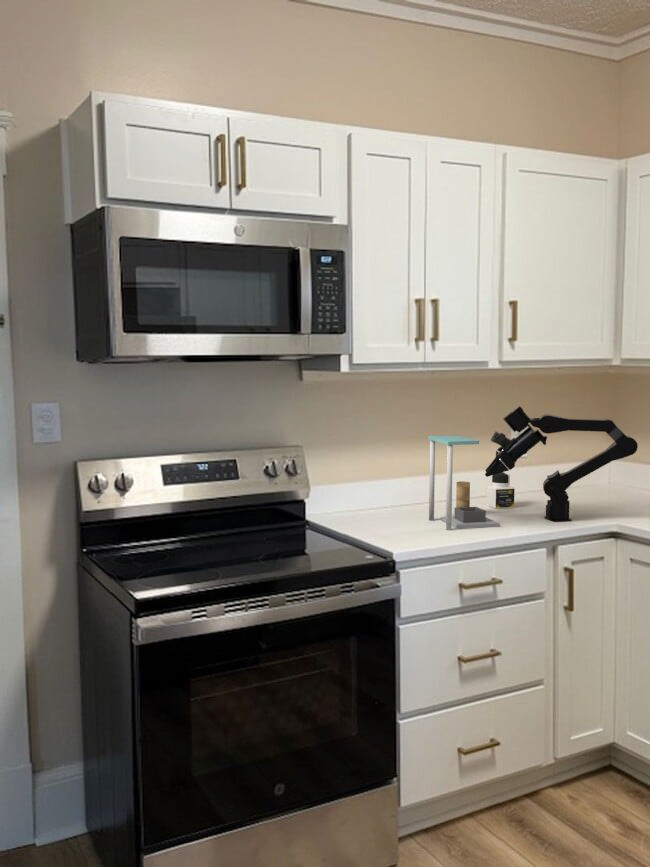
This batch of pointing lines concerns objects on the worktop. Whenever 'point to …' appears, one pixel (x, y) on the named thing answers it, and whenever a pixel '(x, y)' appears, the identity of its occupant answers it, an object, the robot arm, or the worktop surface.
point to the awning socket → (462, 515)
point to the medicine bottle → (500, 492)
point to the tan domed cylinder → (462, 494)
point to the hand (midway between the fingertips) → (485, 473)
